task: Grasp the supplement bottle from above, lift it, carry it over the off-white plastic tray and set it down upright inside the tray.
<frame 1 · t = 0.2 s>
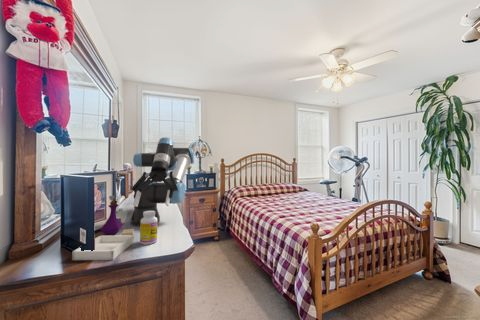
hand: (151, 205, 90), 15 cm above the table, tool tilted 35°, fingers open, 13 cm apart
tray: (105, 250, 80), on the table
maple block: (127, 240, 91), on the table
supplement bottle: (148, 242, 88), on the table
perfume bottle: (112, 234, 98), on the table
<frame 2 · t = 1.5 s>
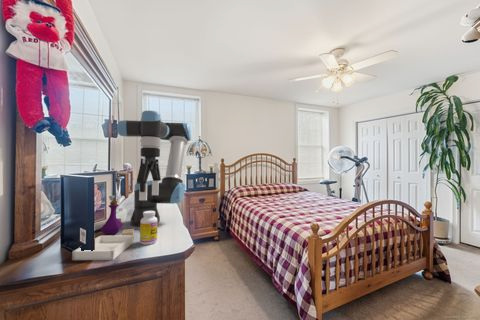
hand: (149, 197, 89), 19 cm above the table, tool pointing down, fingers open, 13 cm apart
nothing on the table moved.
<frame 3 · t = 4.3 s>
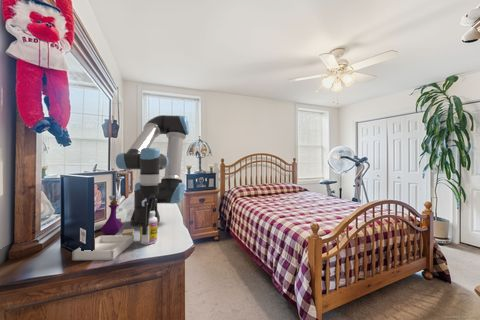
hand: (148, 238, 88), 2 cm above the table, tool pointing down, fingers closed on supplement bottle, 7 cm apart
supplement bottle: (148, 242, 88), on the table, touching gripper
everything else where it was.
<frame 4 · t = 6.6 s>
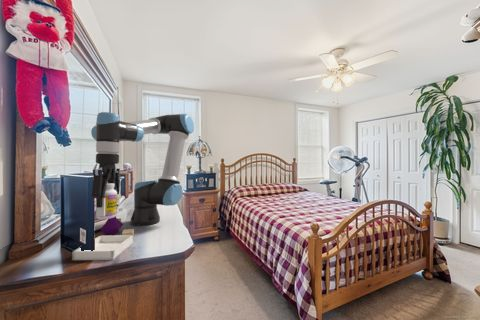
hand: (106, 213, 80), 14 cm above the table, tool pointing down, fingers closed on supplement bottle, 7 cm apart
supplement bottle: (106, 217, 80), point 12 cm above the table, touching gripper
everything else where it was.
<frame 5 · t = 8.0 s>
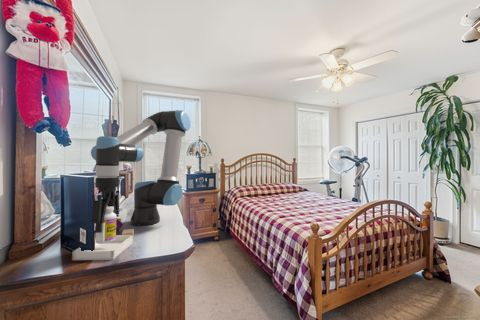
hand: (105, 237, 80), 5 cm above the table, tool pointing down, fingers closed on supplement bottle, 7 cm apart
supplement bottle: (105, 241, 80), point 3 cm above the table, touching gripper
everything else where it was.
when the fingers open (3 cm above the table, at t = 9.1 s): supplement bottle drops 1 cm, resting on tray.
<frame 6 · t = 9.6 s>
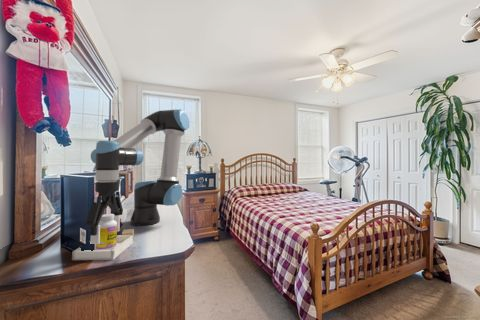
hand: (106, 237, 80), 5 cm above the table, tool pointing down, fingers open, 13 cm apart
supplement bottle: (106, 249, 80), resting on tray
everything else where it was.
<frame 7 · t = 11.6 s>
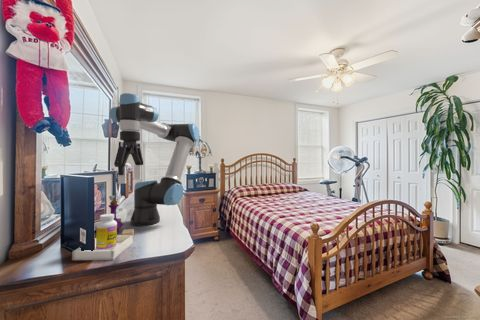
hand: (130, 181, 89), 26 cm above the table, tool pointing down, fingers open, 13 cm apart
nothing on the table moved.
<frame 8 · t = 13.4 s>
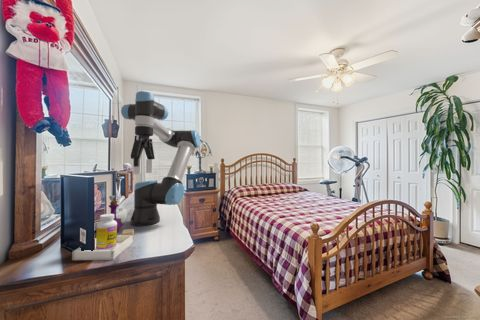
hand: (143, 173, 94), 29 cm above the table, tool pointing down, fingers open, 13 cm apart
nothing on the table moved.
at the end: supplement bottle inside the target area on the tray (0.2 cm from its centre), point 0.4 cm above the tray's base; supplement bottle tilted 0°; the gripper is holding nothing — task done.
